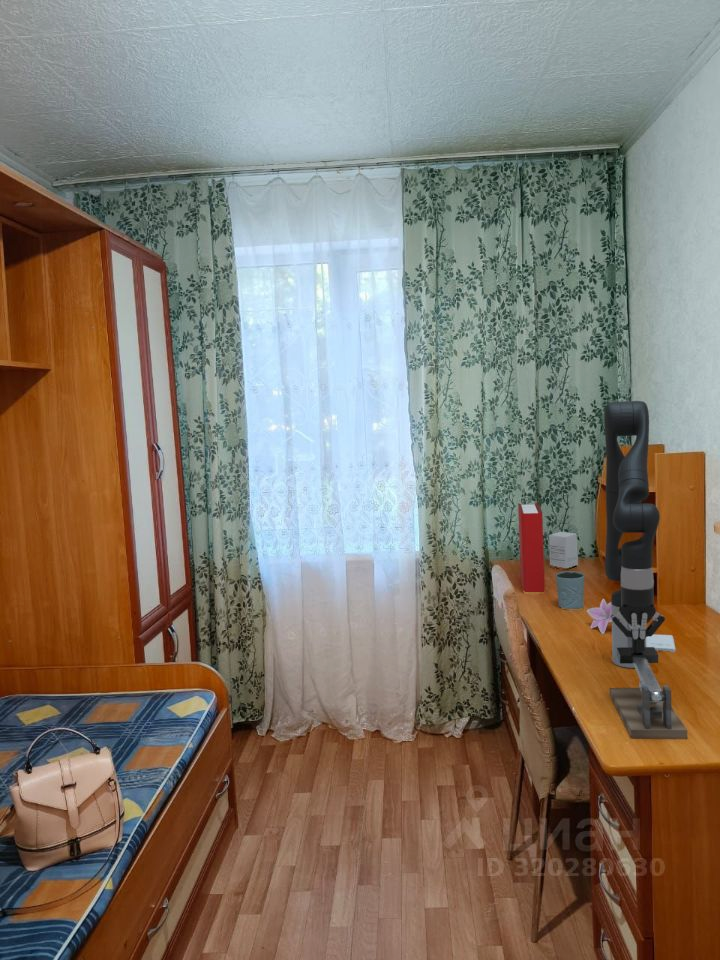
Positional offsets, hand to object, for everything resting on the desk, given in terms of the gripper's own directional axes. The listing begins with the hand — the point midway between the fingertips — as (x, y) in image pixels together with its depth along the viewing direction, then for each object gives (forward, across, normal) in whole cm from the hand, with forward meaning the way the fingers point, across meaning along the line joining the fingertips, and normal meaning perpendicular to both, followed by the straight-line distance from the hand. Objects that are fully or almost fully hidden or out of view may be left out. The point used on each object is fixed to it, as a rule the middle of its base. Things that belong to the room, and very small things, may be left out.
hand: (638, 652), depth 183 cm
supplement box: (+15, -2, -145) cm, 146 cm away
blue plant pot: (+14, +4, -84) cm, 85 cm away
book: (+14, +15, -115) cm, 117 cm away
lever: (+5, 0, +7) cm, 9 cm away
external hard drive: (+14, -16, -43) cm, 48 cm away
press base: (+13, 0, +7) cm, 15 cm away
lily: (+14, -3, -58) cm, 60 cm away
